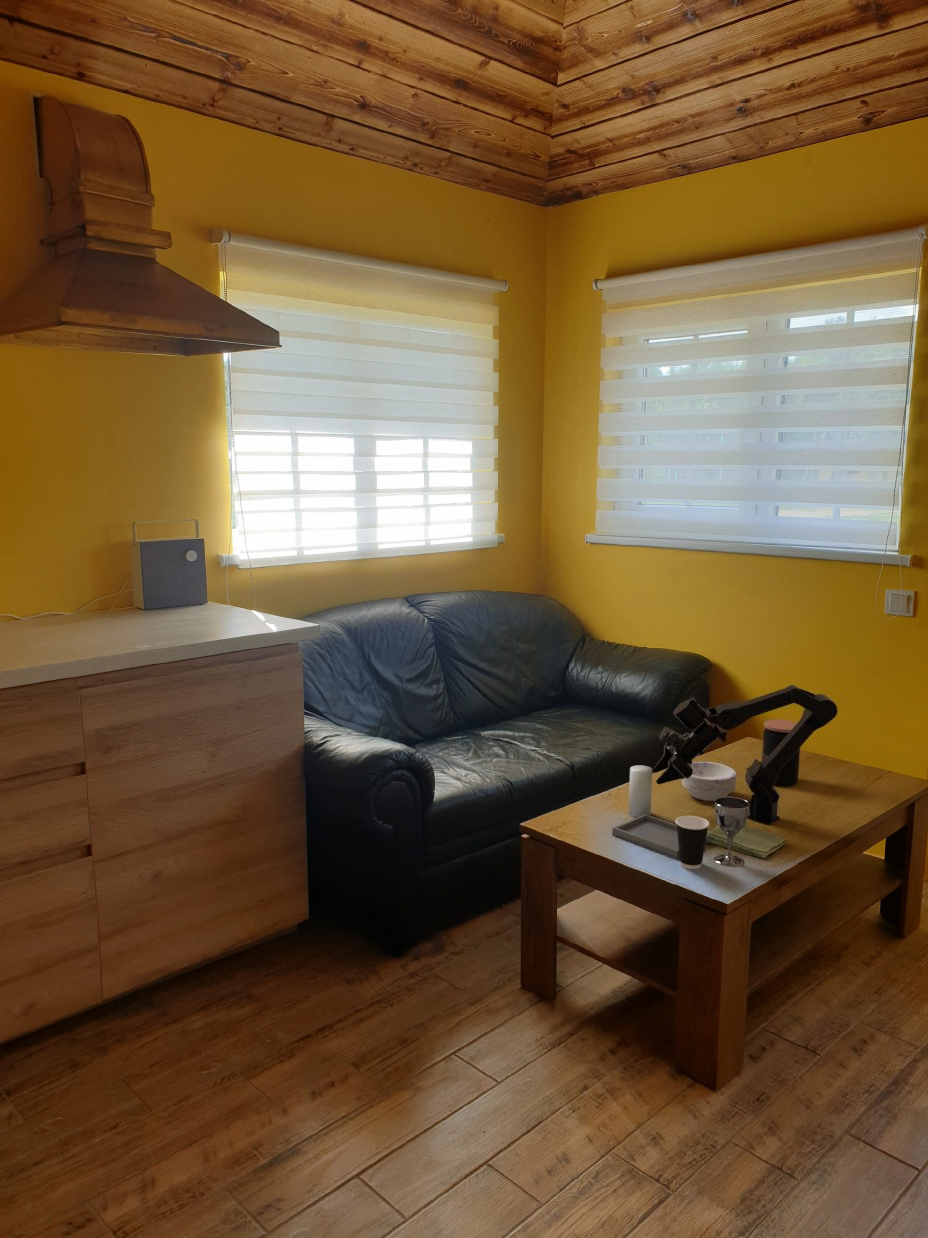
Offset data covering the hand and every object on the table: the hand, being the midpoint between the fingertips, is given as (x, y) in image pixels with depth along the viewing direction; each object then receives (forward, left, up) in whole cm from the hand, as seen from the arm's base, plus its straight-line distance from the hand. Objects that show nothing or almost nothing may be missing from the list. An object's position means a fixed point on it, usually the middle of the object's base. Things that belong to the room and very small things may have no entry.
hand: (655, 777), depth 253 cm
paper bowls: (-2, -23, -11) cm, 26 cm away
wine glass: (-30, +11, -11) cm, 34 cm away
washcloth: (-27, -1, -11) cm, 29 cm away
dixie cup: (-25, +20, -11) cm, 34 cm away
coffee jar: (-10, -49, -11) cm, 52 cm away
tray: (-11, +13, -11) cm, 20 cm away
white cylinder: (+3, +3, -11) cm, 11 cm away
